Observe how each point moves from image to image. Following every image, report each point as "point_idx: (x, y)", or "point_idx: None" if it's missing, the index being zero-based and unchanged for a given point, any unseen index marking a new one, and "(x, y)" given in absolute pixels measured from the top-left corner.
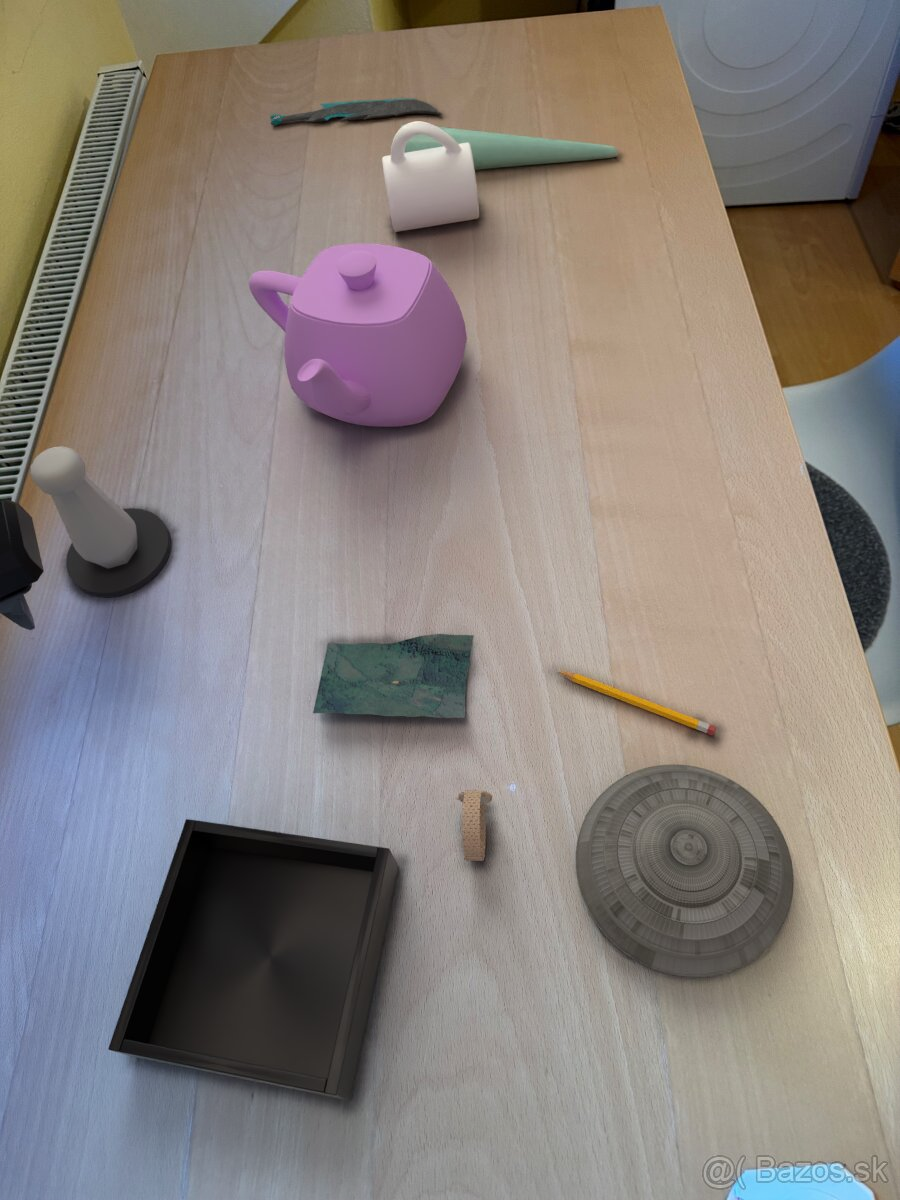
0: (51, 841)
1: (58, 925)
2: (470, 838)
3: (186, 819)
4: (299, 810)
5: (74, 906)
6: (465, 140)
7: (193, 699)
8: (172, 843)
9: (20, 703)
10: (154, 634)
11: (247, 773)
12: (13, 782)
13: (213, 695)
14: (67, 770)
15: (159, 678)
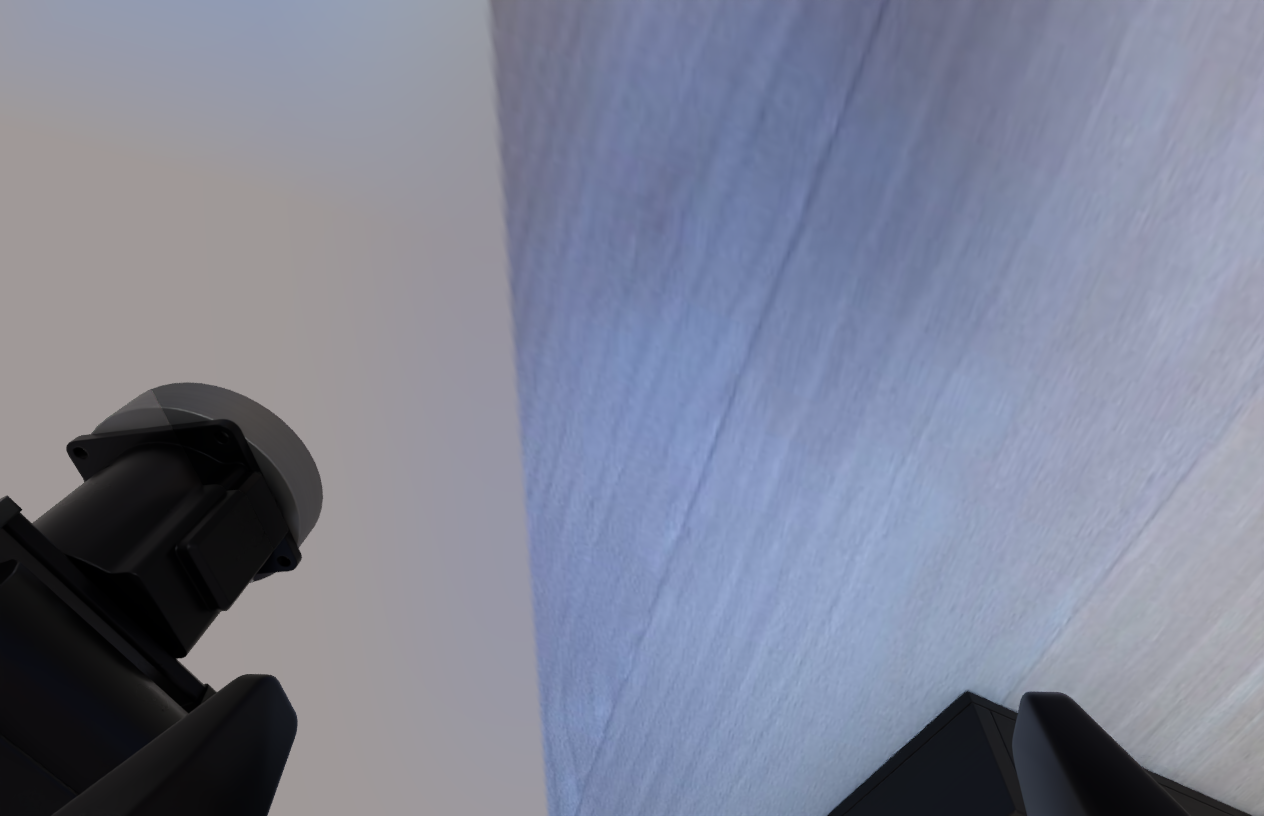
0: (628, 592)
1: (636, 725)
2: None
3: (1016, 811)
4: (1181, 704)
5: (669, 708)
6: None
7: (1087, 377)
8: (892, 675)
9: (540, 187)
10: (1072, 63)
11: (1120, 606)
12: (531, 435)
13: (1150, 386)
14: (679, 453)
15: (1017, 266)
